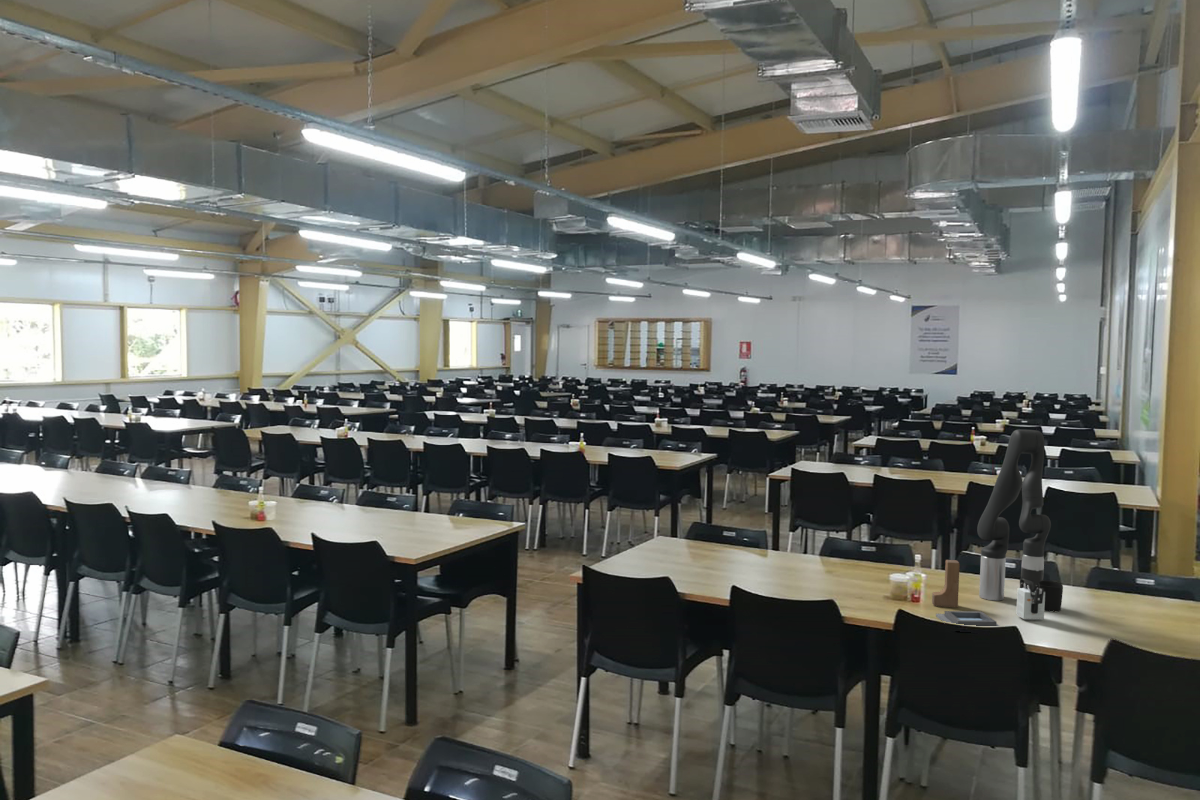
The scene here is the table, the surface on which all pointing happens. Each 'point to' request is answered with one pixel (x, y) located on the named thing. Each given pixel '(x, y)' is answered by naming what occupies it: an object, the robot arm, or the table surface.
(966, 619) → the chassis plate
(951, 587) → the wooden block
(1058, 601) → the pen holder
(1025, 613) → the small box
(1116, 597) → the table surface
